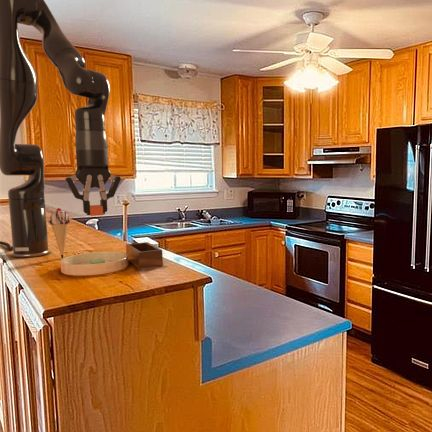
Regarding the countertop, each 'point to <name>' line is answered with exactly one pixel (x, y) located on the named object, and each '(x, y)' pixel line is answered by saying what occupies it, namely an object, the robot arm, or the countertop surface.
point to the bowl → (82, 265)
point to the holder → (144, 255)
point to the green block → (97, 261)
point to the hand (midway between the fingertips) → (95, 214)
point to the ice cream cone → (60, 228)
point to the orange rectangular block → (96, 210)
